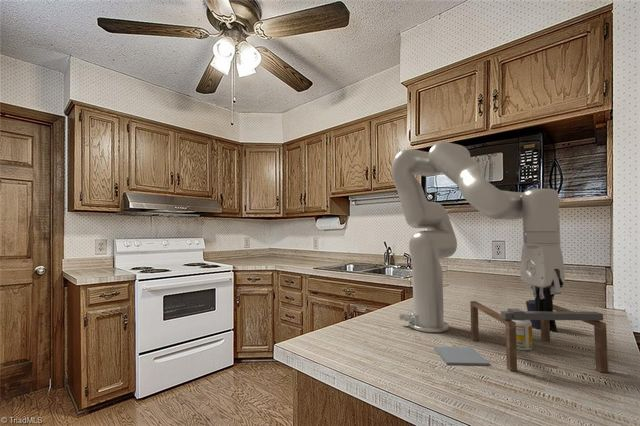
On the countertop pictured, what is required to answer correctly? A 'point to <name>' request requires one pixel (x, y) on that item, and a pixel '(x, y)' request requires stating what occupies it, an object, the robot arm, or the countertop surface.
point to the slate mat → (460, 356)
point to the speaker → (537, 323)
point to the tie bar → (550, 315)
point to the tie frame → (511, 348)
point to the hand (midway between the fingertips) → (544, 314)
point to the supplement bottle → (523, 334)
